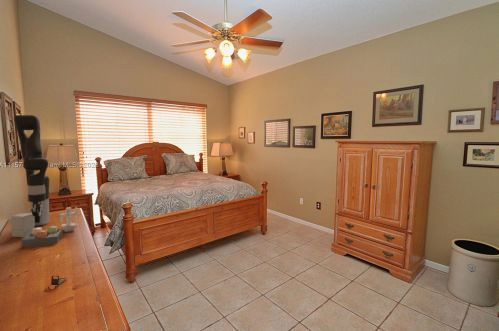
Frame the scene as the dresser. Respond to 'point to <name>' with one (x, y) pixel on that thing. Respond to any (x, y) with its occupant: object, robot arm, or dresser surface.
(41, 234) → the brown egg
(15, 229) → the supplement box
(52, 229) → the green egg
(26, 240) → the grey square tray
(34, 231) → the white egg
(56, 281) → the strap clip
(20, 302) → the dresser surface
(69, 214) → the figurine
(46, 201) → the robot arm
